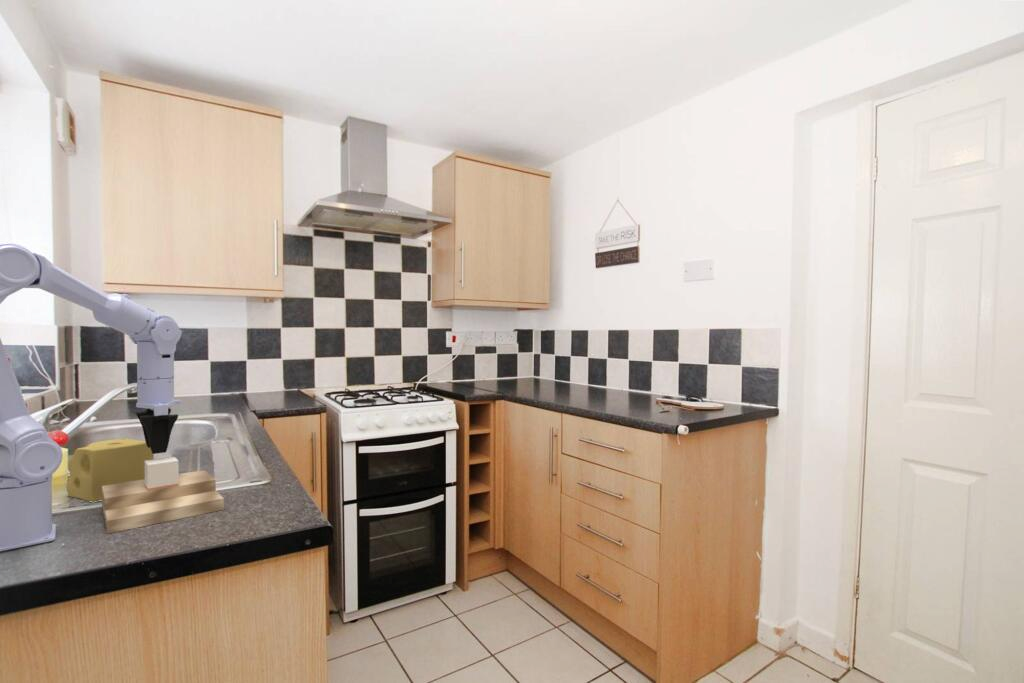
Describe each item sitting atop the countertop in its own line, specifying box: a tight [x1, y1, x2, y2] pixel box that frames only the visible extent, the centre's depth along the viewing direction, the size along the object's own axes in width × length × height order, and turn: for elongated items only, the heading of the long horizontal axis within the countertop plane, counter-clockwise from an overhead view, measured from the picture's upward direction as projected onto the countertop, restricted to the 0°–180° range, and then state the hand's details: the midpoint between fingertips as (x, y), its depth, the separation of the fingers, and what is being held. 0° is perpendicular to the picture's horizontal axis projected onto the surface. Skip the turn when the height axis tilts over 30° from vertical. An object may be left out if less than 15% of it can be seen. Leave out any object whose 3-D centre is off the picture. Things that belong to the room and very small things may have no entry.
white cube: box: [145, 456, 180, 491], centre depth 89 cm, size 4×4×4 cm
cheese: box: [66, 437, 155, 503], centre depth 99 cm, size 10×11×10 cm
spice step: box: [101, 469, 225, 534], centre depth 88 cm, size 16×16×4 cm
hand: (156, 449), depth 94 cm, fingers open, 7 cm apart
